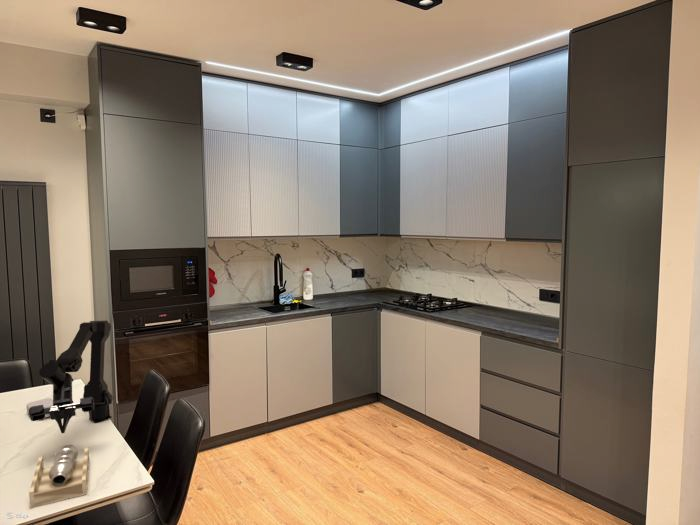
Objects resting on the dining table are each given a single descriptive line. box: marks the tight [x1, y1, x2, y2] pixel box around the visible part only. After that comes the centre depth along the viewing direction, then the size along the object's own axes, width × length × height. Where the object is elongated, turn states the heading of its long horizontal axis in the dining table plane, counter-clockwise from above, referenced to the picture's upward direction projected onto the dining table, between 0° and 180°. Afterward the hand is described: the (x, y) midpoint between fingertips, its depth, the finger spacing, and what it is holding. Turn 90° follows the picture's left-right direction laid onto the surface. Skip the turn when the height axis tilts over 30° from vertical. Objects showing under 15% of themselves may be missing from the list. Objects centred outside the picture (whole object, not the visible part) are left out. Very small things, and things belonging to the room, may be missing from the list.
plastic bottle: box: [49, 443, 79, 487], centre depth 156 cm, size 6×7×20 cm
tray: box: [28, 446, 90, 509], centre depth 153 cm, size 23×14×4 cm, turn 26°
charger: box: [26, 397, 53, 418], centre depth 205 cm, size 5×9×15 cm
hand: (62, 432), depth 164 cm, fingers closed
